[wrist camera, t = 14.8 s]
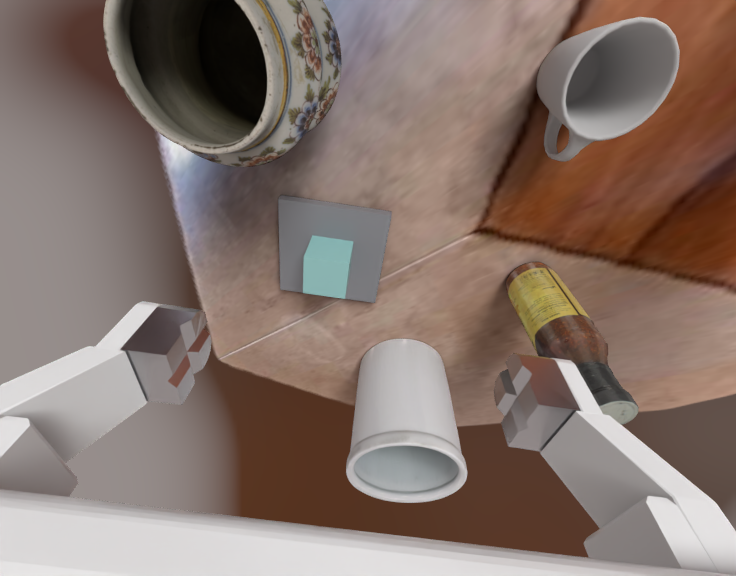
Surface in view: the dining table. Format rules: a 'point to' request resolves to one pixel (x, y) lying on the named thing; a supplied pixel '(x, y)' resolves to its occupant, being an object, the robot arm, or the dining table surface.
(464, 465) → the utensil holder
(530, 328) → the sauce bottle
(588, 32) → the cup
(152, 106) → the apothecary jar
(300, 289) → the tile
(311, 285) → the cube
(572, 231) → the dining table surface
